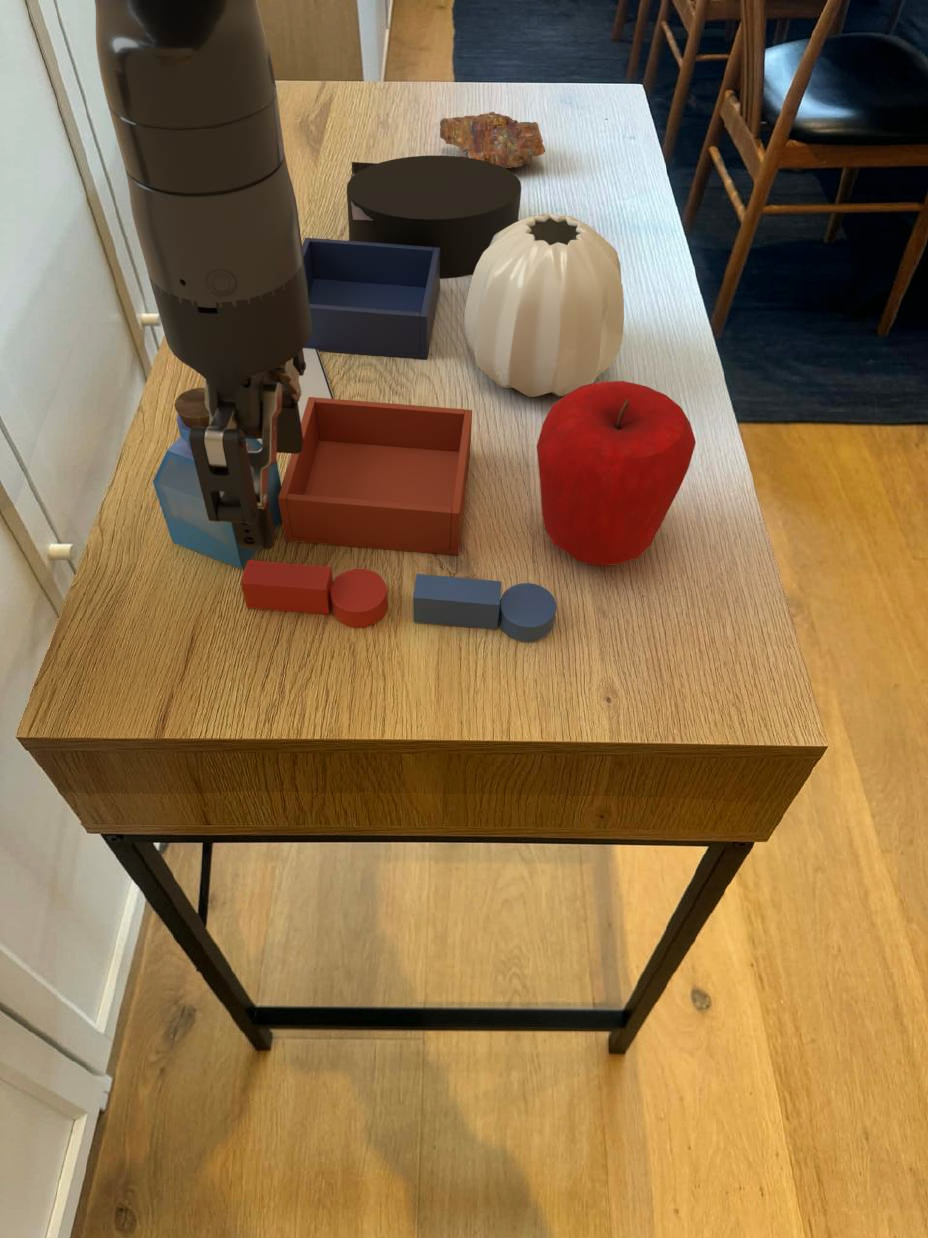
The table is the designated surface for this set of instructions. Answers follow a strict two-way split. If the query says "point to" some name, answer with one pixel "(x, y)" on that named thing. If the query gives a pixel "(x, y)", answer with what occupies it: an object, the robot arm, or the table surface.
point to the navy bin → (371, 297)
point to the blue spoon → (484, 605)
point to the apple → (611, 469)
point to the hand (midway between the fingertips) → (272, 495)
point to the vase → (546, 306)
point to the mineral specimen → (494, 138)
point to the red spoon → (316, 591)
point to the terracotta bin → (378, 476)
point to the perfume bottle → (185, 496)
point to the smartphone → (312, 380)
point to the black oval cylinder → (433, 206)
